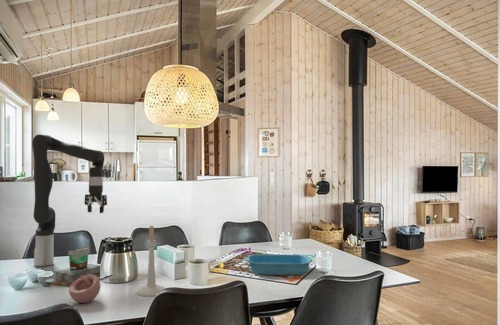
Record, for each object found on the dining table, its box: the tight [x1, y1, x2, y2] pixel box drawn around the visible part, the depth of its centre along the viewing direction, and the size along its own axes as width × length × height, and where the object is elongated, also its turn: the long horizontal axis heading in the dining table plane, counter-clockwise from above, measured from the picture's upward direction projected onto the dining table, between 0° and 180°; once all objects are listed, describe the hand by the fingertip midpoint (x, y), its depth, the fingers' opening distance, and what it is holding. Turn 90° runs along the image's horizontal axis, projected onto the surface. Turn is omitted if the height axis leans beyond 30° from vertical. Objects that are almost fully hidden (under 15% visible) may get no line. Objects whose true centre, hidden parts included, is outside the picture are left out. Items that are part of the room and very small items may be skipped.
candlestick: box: [136, 224, 166, 298], centre depth 172 cm, size 13×13×30 cm
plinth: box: [51, 263, 102, 287], centre depth 192 cm, size 22×22×5 cm
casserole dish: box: [244, 253, 314, 276], centre depth 207 cm, size 37×22×7 cm, turn 92°
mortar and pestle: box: [68, 274, 101, 304], centre depth 158 cm, size 12×12×11 cm
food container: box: [67, 245, 91, 270], centre depth 191 cm, size 12×6×10 cm, turn 165°
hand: (95, 212), depth 220 cm, fingers open, 8 cm apart
